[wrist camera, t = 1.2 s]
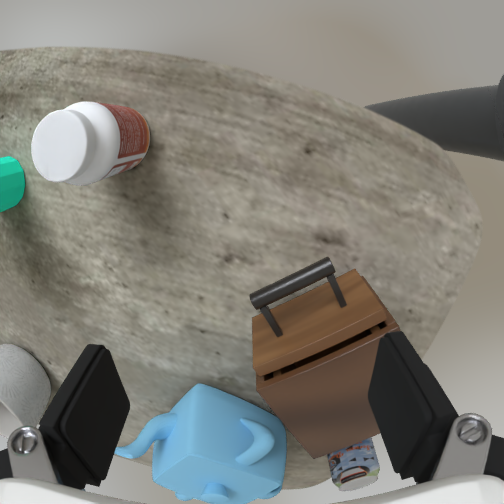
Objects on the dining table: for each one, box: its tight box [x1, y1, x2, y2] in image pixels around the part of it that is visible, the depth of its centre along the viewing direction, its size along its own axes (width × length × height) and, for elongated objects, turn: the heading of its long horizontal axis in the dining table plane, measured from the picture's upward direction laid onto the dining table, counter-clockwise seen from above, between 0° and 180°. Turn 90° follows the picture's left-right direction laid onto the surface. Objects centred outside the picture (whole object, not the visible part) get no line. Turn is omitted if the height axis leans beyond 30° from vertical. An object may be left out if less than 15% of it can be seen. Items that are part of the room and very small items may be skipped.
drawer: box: [250, 257, 387, 377], centre depth 29 cm, size 17×11×8 cm, turn 28°
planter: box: [0, 344, 51, 439], centre depth 32 cm, size 12×12×11 cm
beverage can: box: [327, 437, 380, 491], centre depth 33 cm, size 6×7×12 cm
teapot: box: [114, 384, 287, 504], centre depth 32 cm, size 18×16×14 cm
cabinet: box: [256, 276, 400, 459], centre depth 30 cm, size 14×13×10 cm
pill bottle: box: [31, 102, 150, 185], centre depth 21 cm, size 6×6×11 cm
